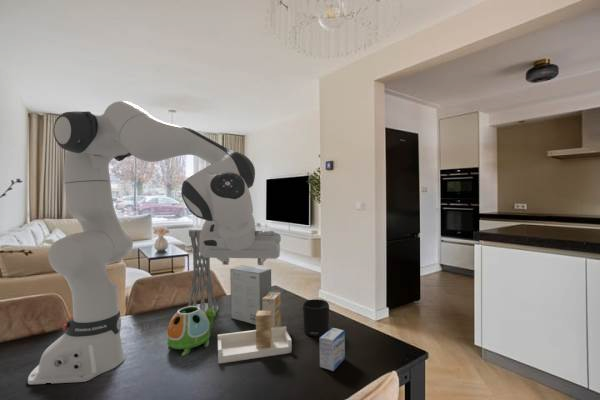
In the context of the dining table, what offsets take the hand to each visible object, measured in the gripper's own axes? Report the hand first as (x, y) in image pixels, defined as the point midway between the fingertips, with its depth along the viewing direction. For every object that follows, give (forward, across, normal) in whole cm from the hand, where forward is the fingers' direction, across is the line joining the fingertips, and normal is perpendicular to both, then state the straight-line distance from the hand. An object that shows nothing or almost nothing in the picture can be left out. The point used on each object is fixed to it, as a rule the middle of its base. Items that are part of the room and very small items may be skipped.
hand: (243, 262), depth 84 cm
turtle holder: (+34, +19, +10) cm, 41 cm away
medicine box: (+24, -26, +18) cm, 40 cm away
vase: (+55, +25, -10) cm, 61 cm away
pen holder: (+39, -22, +4) cm, 45 cm away
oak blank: (+28, -5, +12) cm, 31 cm away
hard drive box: (+48, +3, -4) cm, 48 cm away
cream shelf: (+30, -2, +13) cm, 33 cm away
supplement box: (+40, -6, +3) cm, 41 cm away
